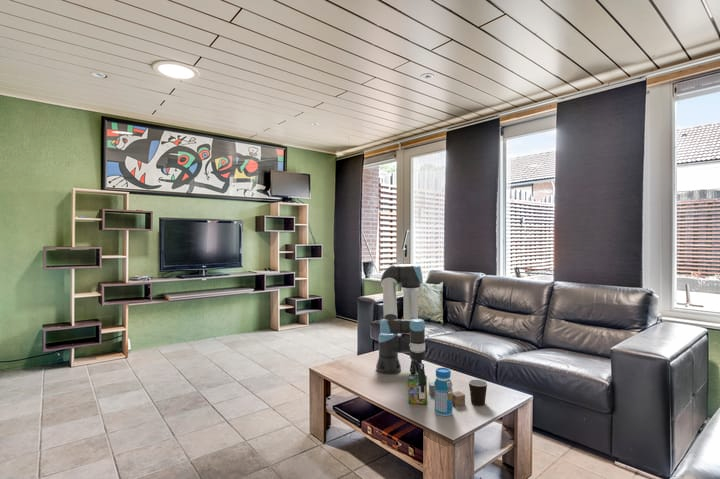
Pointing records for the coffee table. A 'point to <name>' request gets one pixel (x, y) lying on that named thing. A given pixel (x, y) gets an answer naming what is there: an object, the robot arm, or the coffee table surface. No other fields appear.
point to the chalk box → (415, 390)
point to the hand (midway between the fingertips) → (417, 392)
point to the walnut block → (458, 398)
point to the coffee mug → (478, 392)
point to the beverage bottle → (443, 392)
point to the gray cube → (431, 388)
